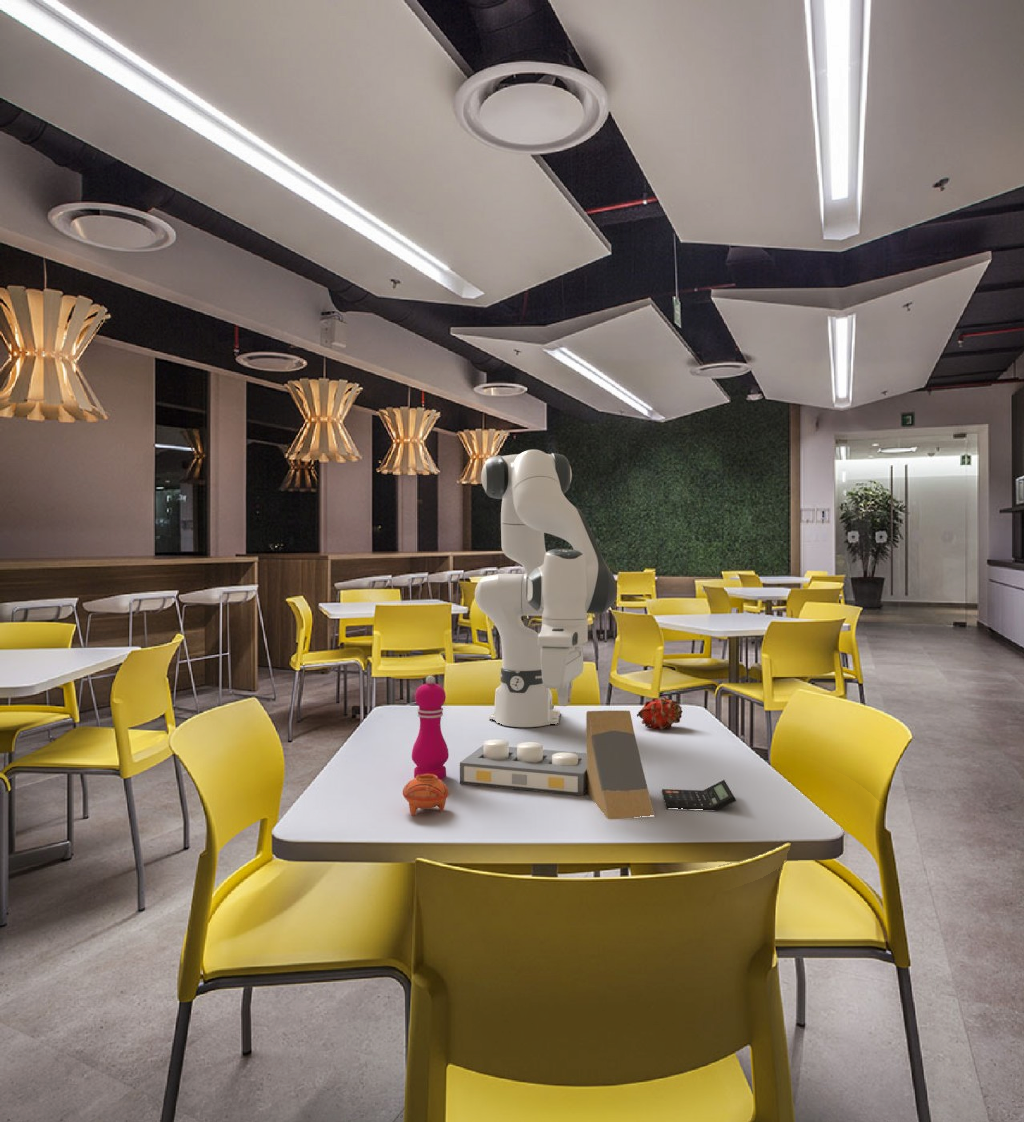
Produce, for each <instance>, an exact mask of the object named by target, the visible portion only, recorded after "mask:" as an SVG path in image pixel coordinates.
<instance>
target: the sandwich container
mask: <svg viewBox="0 0 1024 1122" xmlns="http://www.w3.org/2000/svg"><path fill="white" fill-rule="evenodd" d="M585 714H586V715H585V717H586V718H585V719H586V720H585V721H586V724H585V725H586V728H585V729H586V753H587V791H588V792H587V791H586V792H587V793H588V796H591V797H590V798H591V800H592V799H593V800H592V801H593V803H596V804H597V805H596V804H595V805H596V806H597V807H598V809H599V808H600V809H599V810H600V811H601V813H604V814H603V815H604V816H605V818H607V819H608V820H624V819H625V820H626V818H632V819H635V818H634V817H640V816H641V817H642V816H650V815H655V811H654V808H653V803H652V801H651V796H650V791H649V788H648V784H647V781H646V776H645V772H644V768H643V764H642V759H641V754H640V750H639V747H638V743H637V738H636V734H635V729H634V725H633V719H632V715H631V710H588V711H586V713H585Z"/></svg>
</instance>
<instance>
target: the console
mask: <svg viewBox="0 0 1024 1122" xmlns="http://www.w3.org/2000/svg"><path fill="white" fill-rule="evenodd" d="M556 753H573V754H576V755H578V765H577V766H566V765H555V764H552V755H553V754H556ZM483 756H484V744H482V745H481V746H480V747H478V748H477V749H476V750H475V751H473V752H472V753H471V754H469V755H468V756H467V757H465V758H464V759H462V761H460V762H459V784H462V785H470V786H471V785H472V786H481V787H489V788H490V787H493V788H500V787H502V789H510V788H513V790H521V789H522V791H533V792H541V791H543V792H544V793H551V792H552V793H553V794H561V795H562V794H563V795H572V796H581V795H583V796H585V794H586V793H587V752H576V751H565V750H551V749H543V761H542V762H541V763H532V762H520V761H517V746H516V747H514V746H509V757H508V758H507V759H506V760H497V759H486V758H483ZM543 792H542V793H543Z"/></svg>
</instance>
